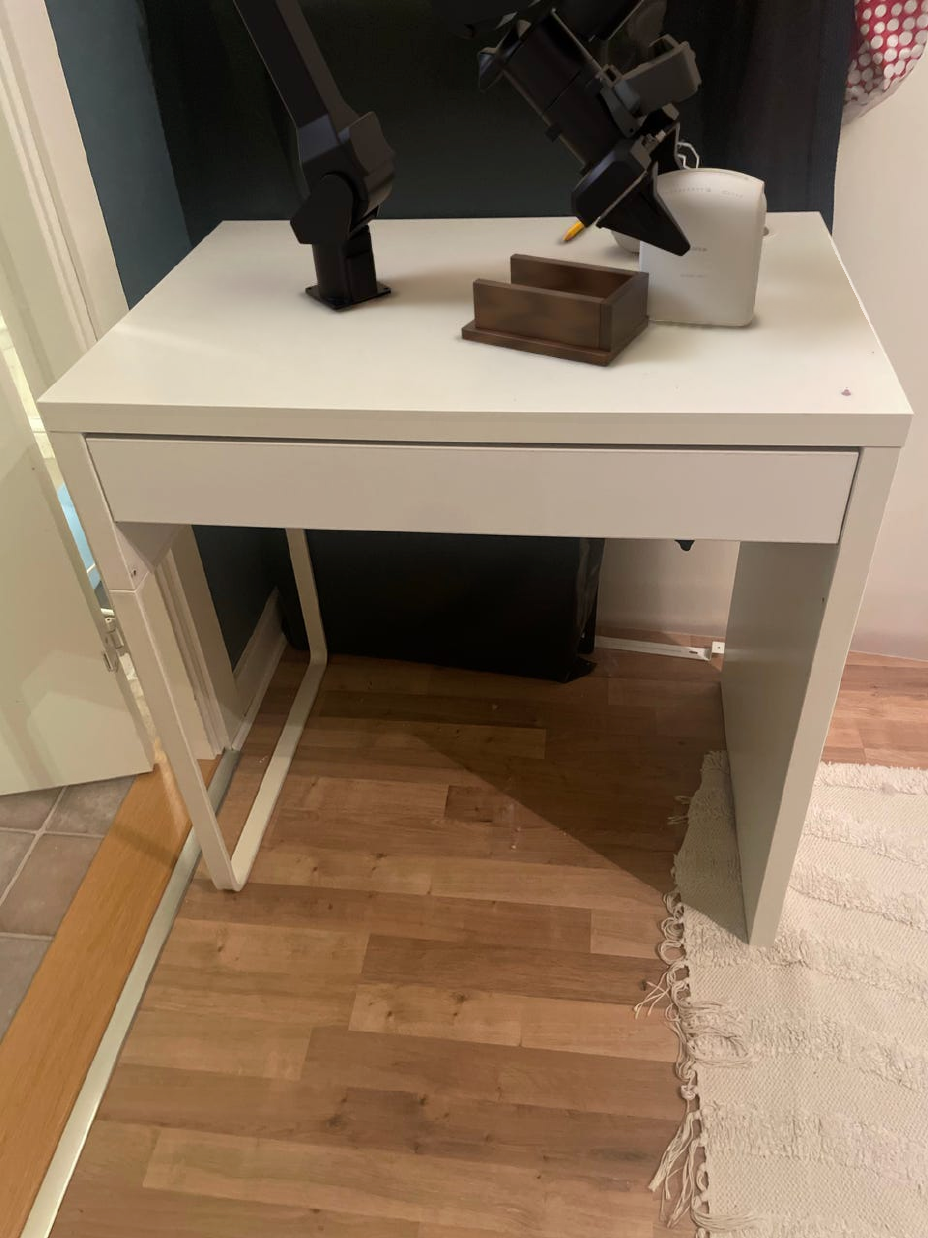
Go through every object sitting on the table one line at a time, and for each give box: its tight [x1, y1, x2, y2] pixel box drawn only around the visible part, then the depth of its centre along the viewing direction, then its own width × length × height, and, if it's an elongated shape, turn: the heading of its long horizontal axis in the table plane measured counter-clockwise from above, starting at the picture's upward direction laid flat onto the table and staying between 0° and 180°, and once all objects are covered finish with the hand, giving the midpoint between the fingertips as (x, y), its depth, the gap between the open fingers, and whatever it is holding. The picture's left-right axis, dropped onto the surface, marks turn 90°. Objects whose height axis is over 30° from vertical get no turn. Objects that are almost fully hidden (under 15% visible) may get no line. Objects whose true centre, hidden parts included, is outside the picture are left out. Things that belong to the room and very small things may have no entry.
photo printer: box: [638, 167, 768, 327], centre depth 81 cm, size 10×4×12 cm, turn 70°
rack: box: [460, 253, 650, 367], centre depth 83 cm, size 14×9×5 cm, turn 59°
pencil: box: [561, 220, 585, 242], centre depth 104 cm, size 1×8×1 cm, turn 153°
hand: (693, 234), depth 81 cm, fingers open, 8 cm apart
